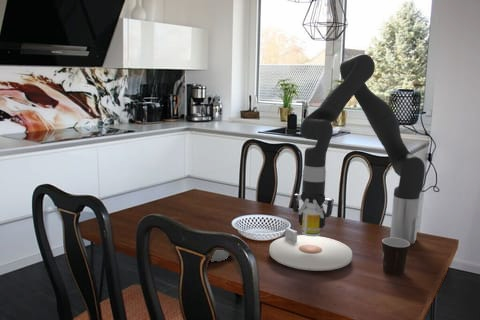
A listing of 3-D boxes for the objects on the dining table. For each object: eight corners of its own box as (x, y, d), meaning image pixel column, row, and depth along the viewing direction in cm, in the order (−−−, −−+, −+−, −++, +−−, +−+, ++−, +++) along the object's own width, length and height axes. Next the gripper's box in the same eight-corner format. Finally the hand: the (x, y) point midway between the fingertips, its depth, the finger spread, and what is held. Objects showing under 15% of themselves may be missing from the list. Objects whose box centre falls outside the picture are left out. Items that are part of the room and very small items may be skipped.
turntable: (315, 234, 184) (316, 221, 183) (369, 260, 160) (370, 245, 159) (253, 247, 170) (254, 233, 169) (303, 277, 146) (304, 261, 145)
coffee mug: (386, 263, 162) (388, 235, 160) (411, 270, 157) (414, 241, 155) (371, 274, 153) (373, 245, 151) (397, 282, 148) (400, 252, 146)
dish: (197, 265, 158) (197, 251, 157) (190, 250, 171) (190, 236, 170) (239, 261, 162) (240, 247, 161) (229, 246, 175) (229, 233, 174)
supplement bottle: (298, 233, 164) (299, 201, 162) (310, 229, 168) (312, 198, 166) (311, 238, 159) (313, 205, 157) (324, 234, 163) (326, 202, 161)
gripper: (338, 179, 160) (335, 226, 163) (297, 173, 167) (295, 219, 170) (331, 183, 154) (328, 233, 157) (289, 178, 160) (287, 225, 163)
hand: (311, 226), depth 163 cm, fingers closed on supplement bottle, 6 cm apart
